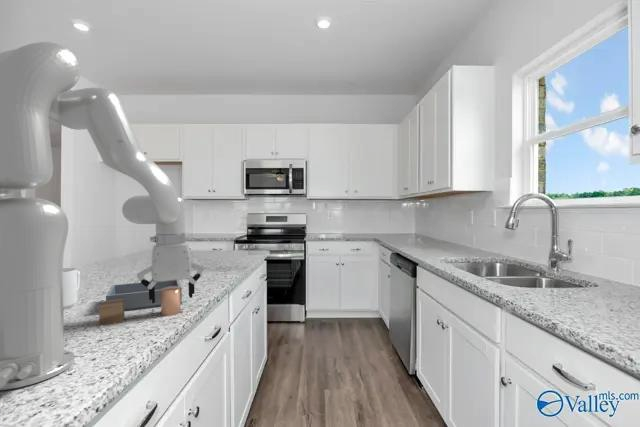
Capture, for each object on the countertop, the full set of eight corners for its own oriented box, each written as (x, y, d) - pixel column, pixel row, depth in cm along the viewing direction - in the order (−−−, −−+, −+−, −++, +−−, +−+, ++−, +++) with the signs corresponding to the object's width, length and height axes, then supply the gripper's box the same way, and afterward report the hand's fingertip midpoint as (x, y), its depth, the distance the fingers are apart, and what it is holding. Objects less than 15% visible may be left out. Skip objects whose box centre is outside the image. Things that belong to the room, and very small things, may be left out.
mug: (62, 311, 90) (61, 273, 90) (31, 312, 90) (30, 273, 90) (92, 299, 102) (91, 265, 102) (64, 300, 102) (64, 266, 102)
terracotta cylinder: (181, 314, 88) (180, 289, 88) (161, 316, 86) (161, 291, 86) (179, 309, 93) (179, 285, 93) (161, 311, 90) (160, 287, 90)
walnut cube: (122, 322, 82) (122, 303, 82) (99, 326, 79) (99, 306, 79) (124, 317, 86) (124, 298, 86) (102, 320, 84) (102, 301, 84)
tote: (178, 292, 111) (178, 278, 111) (181, 303, 98) (181, 287, 98) (112, 300, 101) (112, 285, 101) (106, 313, 89) (105, 296, 88)
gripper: (134, 243, 82) (136, 308, 83) (204, 239, 90) (206, 298, 91) (136, 240, 89) (138, 300, 89) (201, 236, 97) (202, 291, 97)
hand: (172, 299), depth 90 cm, fingers open, 9 cm apart
